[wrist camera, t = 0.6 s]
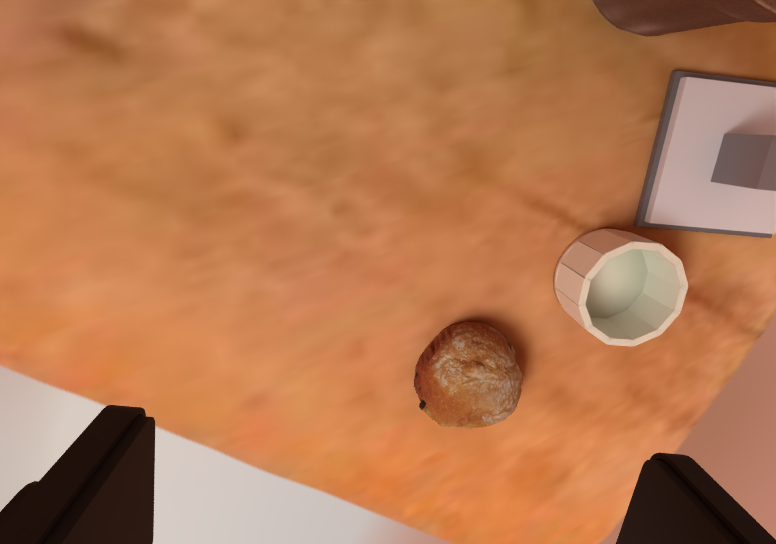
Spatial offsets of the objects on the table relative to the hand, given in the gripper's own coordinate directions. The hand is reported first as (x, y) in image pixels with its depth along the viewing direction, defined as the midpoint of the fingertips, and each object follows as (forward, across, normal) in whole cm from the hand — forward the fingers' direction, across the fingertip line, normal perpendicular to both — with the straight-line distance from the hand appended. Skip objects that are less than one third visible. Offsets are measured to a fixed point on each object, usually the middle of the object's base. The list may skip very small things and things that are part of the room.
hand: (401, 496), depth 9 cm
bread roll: (+35, -12, +14) cm, 39 cm away
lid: (+34, -31, -9) cm, 46 cm away
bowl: (+34, -23, +3) cm, 41 cm away
